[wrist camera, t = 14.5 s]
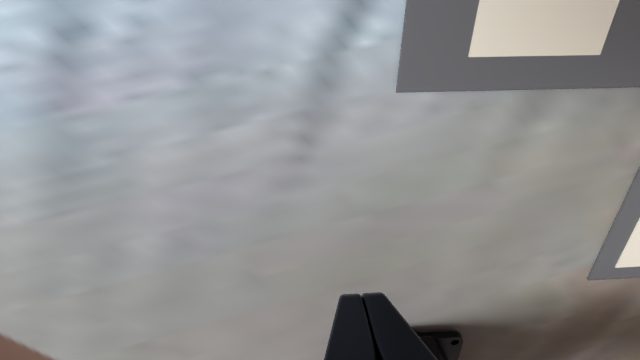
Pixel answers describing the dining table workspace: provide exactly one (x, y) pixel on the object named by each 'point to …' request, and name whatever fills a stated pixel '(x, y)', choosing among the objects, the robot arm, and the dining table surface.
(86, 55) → the dining table surface
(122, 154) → the dining table surface
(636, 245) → the label plates
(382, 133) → the dining table surface
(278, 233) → the dining table surface
